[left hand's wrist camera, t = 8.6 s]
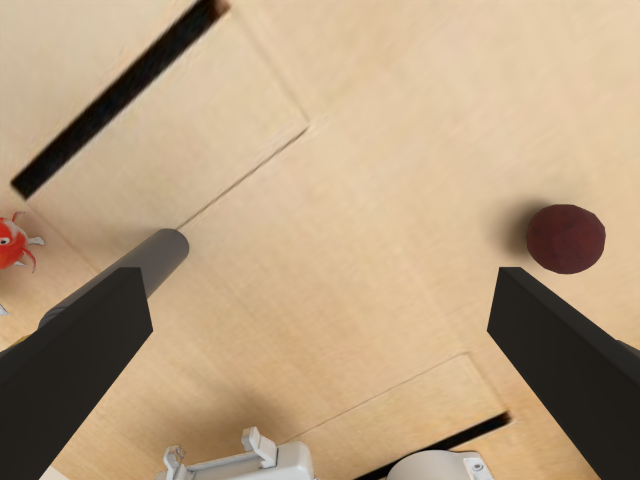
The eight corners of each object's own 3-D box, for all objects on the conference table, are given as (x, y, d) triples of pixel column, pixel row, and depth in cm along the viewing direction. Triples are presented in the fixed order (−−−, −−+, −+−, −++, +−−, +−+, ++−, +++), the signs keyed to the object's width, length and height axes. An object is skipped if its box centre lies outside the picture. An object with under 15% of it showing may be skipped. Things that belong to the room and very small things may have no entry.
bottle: (179, 269, 43) (48, 414, 22) (146, 251, 42) (-24, 385, 21) (195, 240, 42) (71, 366, 21) (160, 221, 41) (-5, 333, 20)
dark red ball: (527, 268, 43) (565, 296, 36) (502, 218, 41) (538, 238, 34) (585, 237, 41) (635, 260, 35) (562, 184, 39) (612, 198, 33)
